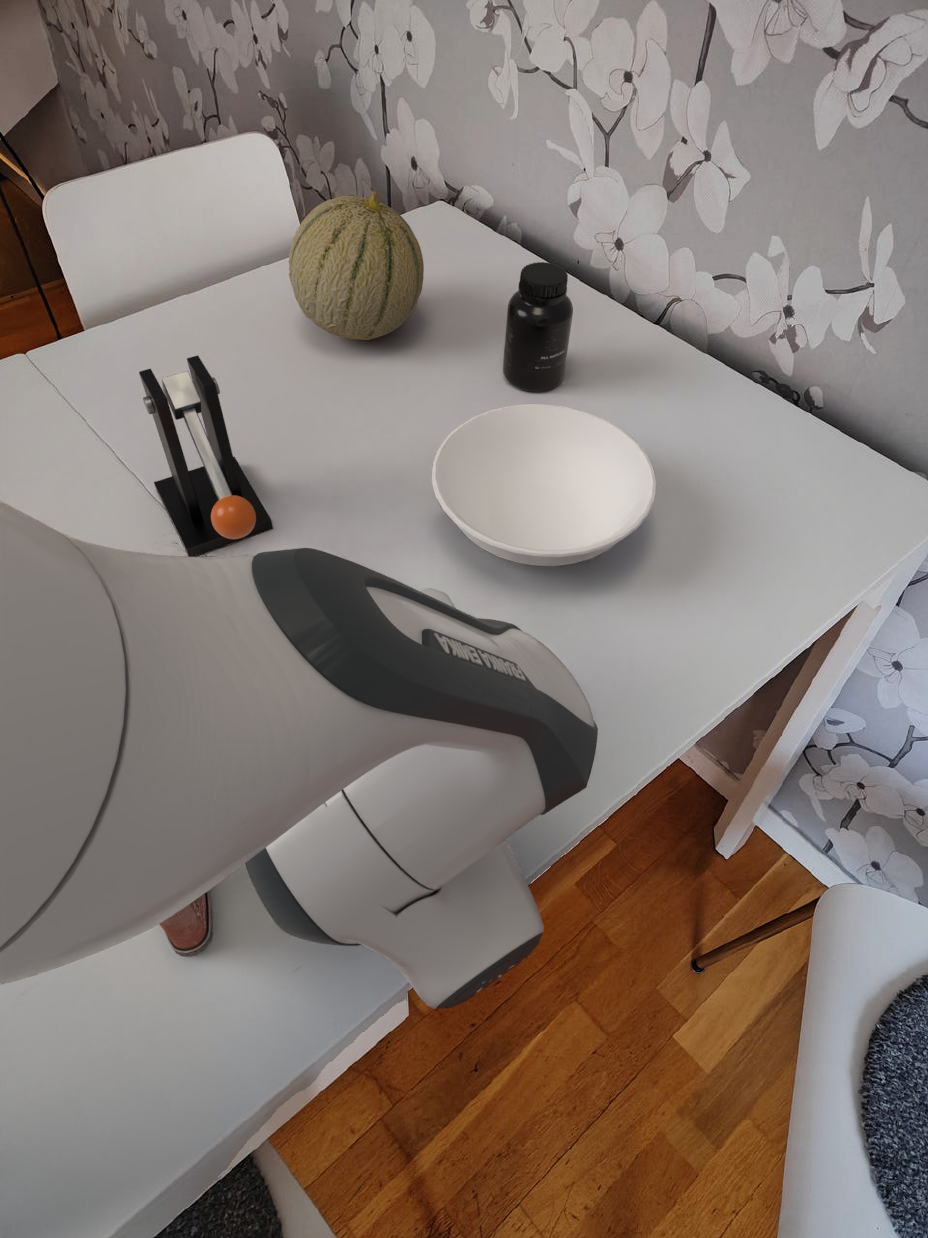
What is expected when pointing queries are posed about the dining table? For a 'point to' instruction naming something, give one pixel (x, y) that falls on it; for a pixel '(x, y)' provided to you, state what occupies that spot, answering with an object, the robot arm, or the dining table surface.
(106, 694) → the robot arm
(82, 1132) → the dining table surface
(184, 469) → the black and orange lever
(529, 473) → the bowl
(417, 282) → the cantaloupe
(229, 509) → the switch
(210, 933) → the lighter
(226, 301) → the dining table surface
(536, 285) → the supplement bottle
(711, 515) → the dining table surface
